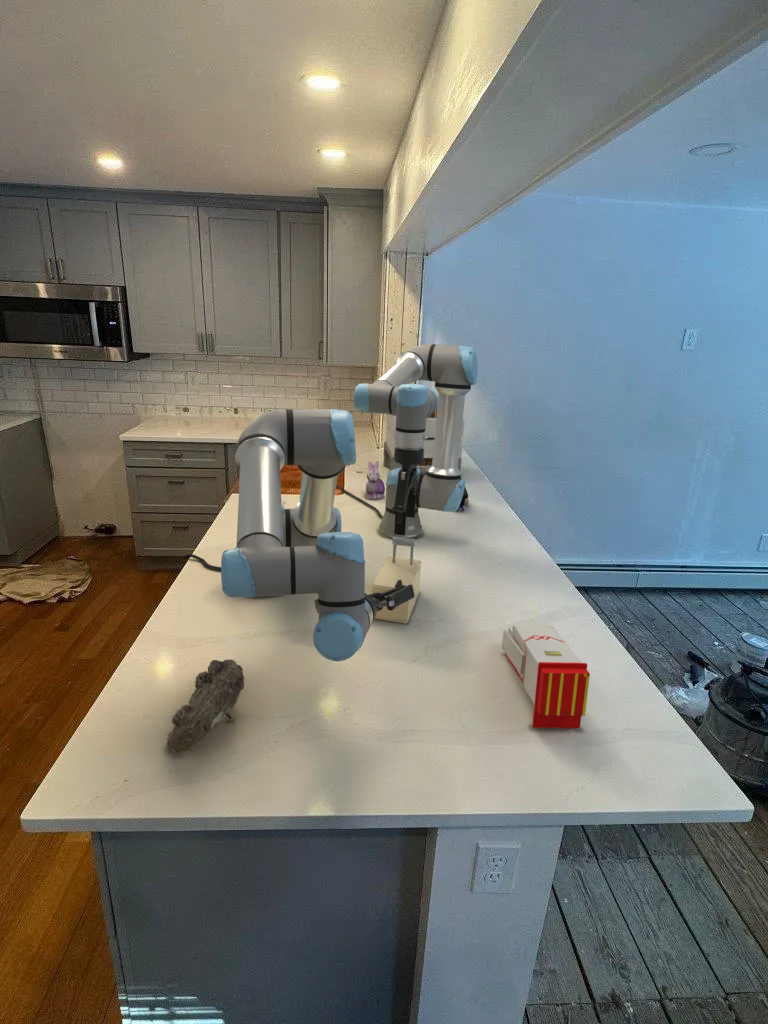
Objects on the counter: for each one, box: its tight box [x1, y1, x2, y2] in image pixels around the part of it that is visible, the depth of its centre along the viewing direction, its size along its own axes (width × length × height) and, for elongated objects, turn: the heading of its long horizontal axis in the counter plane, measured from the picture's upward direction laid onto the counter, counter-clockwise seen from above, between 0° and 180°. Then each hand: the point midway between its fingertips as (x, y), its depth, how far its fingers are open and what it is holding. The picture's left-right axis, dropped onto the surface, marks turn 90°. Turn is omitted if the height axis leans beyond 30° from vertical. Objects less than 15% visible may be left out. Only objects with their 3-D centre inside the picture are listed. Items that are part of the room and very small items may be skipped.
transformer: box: [383, 409, 465, 473], centre depth 268 cm, size 34×33×41 cm
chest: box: [371, 564, 422, 625], centre depth 151 cm, size 17×9×9 cm, turn 167°
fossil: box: [166, 658, 245, 754], centre depth 106 cm, size 22×10×15 cm
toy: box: [501, 623, 591, 729], centre depth 120 cm, size 12×13×30 cm
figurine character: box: [455, 486, 470, 512], centre depth 229 cm, size 7×8×15 cm
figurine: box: [364, 460, 386, 500], centre depth 235 cm, size 9×10×15 cm
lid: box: [372, 537, 422, 590], centre depth 148 cm, size 18×9×8 cm, turn 167°
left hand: (369, 590), depth 122 cm, fingers open, 13 cm apart
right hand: (404, 525), depth 151 cm, fingers open, 13 cm apart
